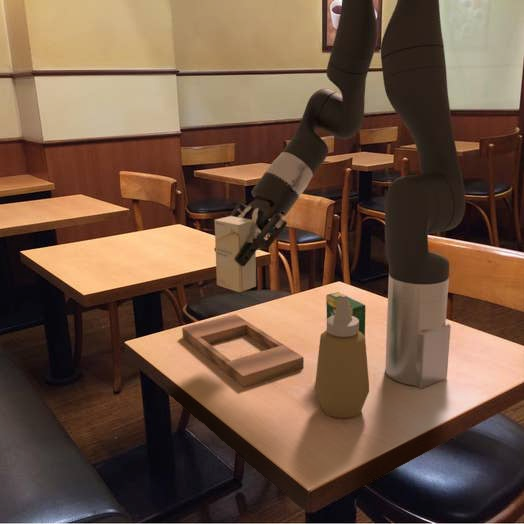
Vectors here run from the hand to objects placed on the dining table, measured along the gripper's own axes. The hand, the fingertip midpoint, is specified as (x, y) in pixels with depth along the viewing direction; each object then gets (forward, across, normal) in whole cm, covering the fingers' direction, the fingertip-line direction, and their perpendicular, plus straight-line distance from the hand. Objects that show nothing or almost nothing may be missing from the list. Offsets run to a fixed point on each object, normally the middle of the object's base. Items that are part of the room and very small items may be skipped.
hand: (228, 258), depth 100 cm
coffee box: (+4, +17, +22) cm, 28 cm away
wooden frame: (+12, 0, +14) cm, 18 cm away
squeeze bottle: (+10, +26, +16) cm, 32 cm away
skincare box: (+3, 0, +5) cm, 6 cm away
